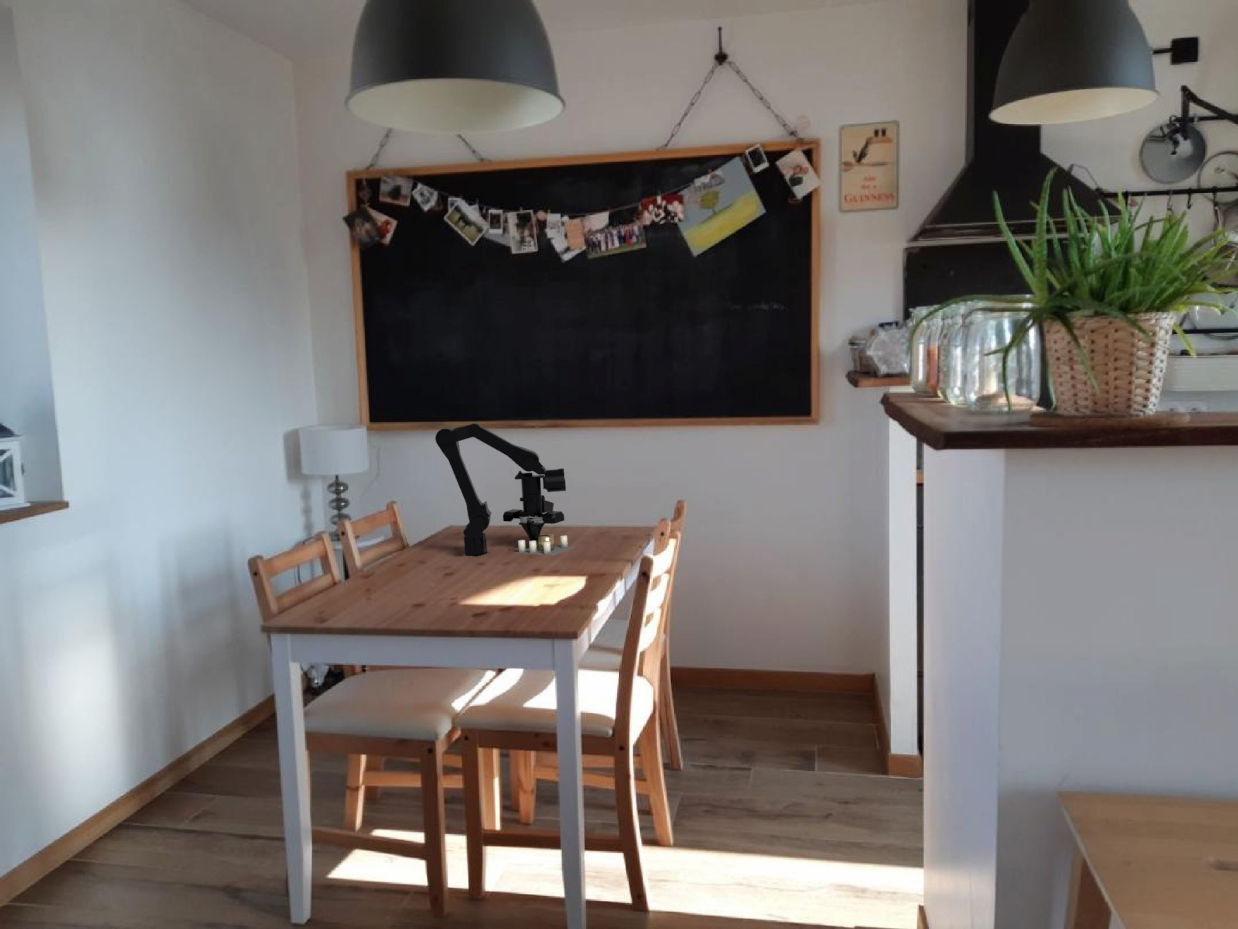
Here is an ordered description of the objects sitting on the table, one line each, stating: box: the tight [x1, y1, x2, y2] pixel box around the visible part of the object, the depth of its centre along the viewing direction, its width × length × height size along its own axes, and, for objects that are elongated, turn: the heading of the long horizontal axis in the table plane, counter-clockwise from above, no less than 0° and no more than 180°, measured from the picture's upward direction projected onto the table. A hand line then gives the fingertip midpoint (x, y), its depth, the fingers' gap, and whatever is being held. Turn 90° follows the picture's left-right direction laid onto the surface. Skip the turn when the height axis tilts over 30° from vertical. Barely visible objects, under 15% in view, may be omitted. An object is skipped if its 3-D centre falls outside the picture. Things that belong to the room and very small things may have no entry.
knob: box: [538, 533, 555, 552], centre depth 281 cm, size 5×5×5 cm
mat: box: [514, 545, 576, 557], centre depth 282 cm, size 12×14×1 cm
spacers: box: [517, 535, 569, 556], centre depth 282 cm, size 11×12×4 cm
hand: (535, 544), depth 283 cm, fingers closed
